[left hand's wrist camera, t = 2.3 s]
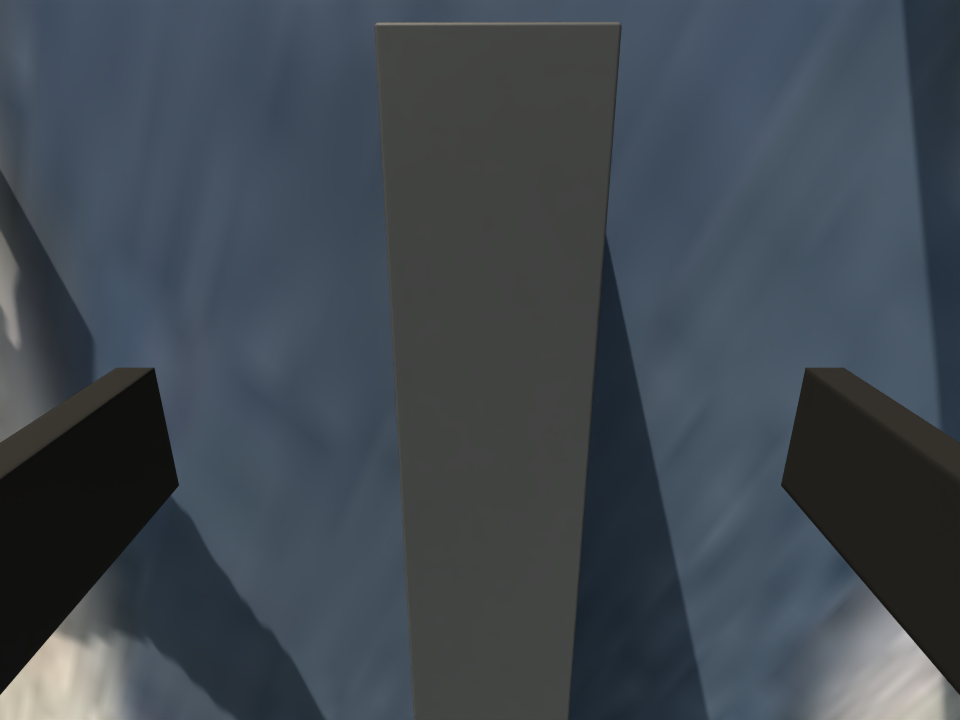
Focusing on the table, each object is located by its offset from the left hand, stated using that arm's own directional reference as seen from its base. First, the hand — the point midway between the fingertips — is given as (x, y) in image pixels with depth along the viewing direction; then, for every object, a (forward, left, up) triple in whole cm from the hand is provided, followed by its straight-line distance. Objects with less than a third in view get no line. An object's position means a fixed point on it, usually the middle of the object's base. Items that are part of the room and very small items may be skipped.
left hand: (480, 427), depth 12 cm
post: (+21, +10, -9) cm, 25 cm away
